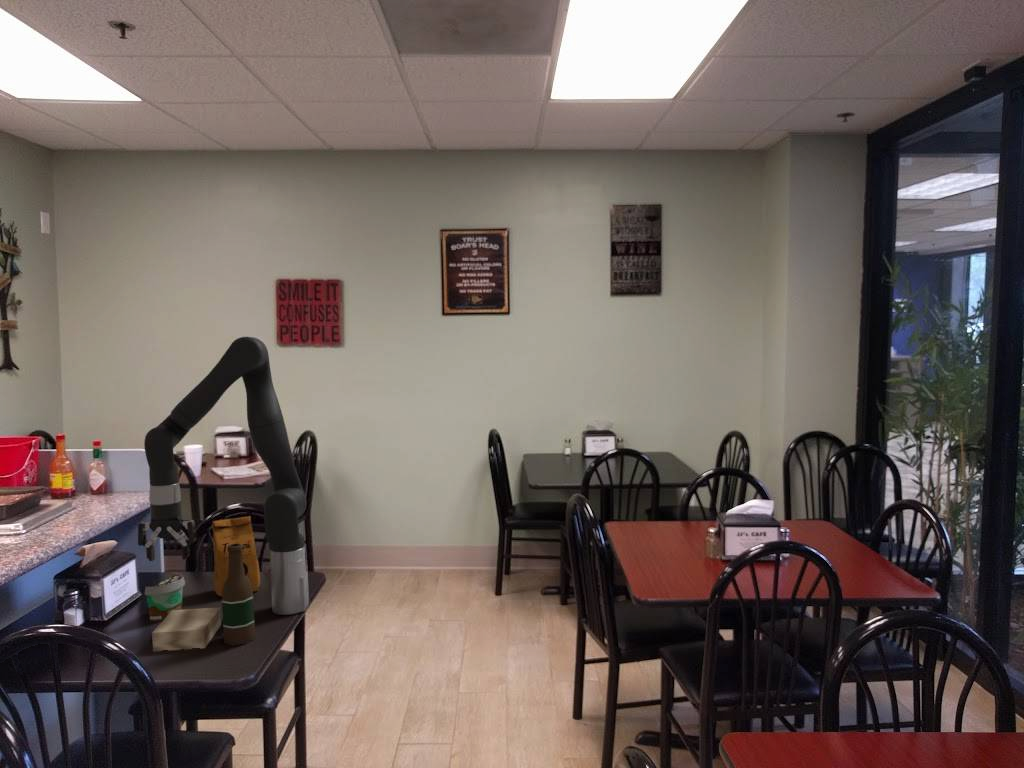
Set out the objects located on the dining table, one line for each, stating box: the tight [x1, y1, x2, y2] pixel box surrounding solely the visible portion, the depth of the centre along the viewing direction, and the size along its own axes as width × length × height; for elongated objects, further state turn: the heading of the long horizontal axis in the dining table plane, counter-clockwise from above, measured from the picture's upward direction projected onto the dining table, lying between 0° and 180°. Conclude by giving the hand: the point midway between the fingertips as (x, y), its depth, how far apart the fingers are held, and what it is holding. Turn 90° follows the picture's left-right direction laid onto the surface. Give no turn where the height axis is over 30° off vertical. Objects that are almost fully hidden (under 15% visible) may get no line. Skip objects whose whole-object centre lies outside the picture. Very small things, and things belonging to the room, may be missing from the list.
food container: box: [144, 571, 186, 623], centre depth 199 cm, size 12×6×10 cm, turn 168°
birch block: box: [151, 607, 222, 652], centre depth 185 cm, size 12×14×5 cm
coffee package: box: [211, 515, 261, 597], centre depth 216 cm, size 10×12×22 cm
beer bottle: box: [221, 543, 256, 646], centre depth 183 cm, size 8×8×24 cm
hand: (168, 559), depth 198 cm, fingers open, 8 cm apart
